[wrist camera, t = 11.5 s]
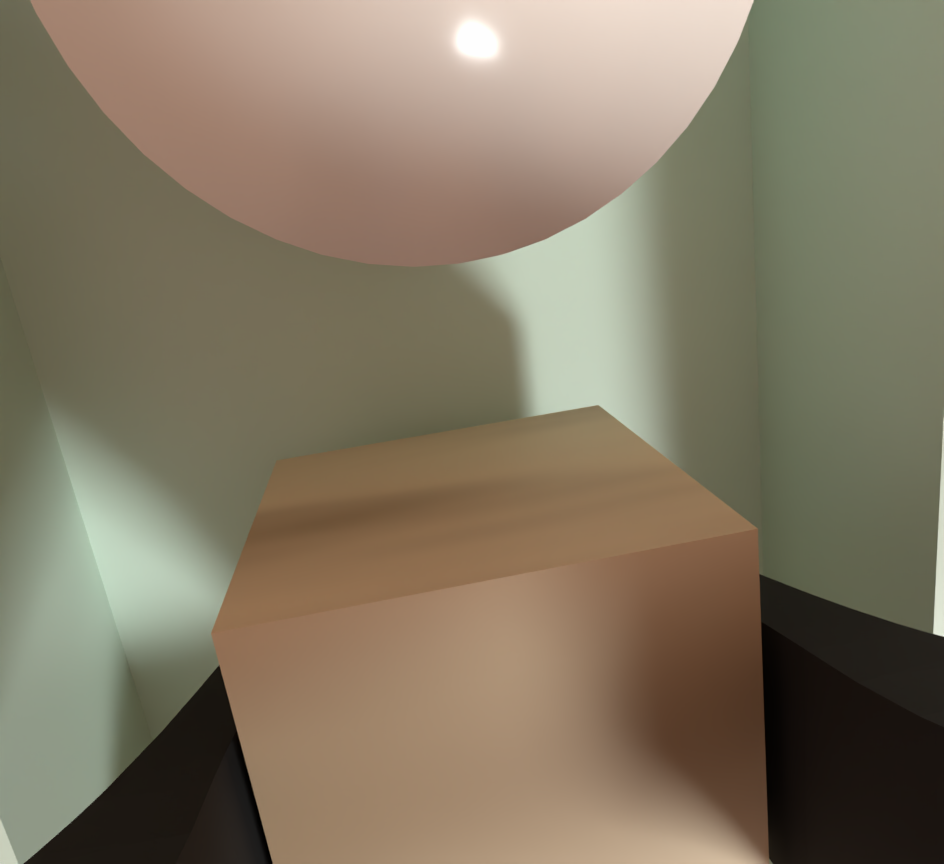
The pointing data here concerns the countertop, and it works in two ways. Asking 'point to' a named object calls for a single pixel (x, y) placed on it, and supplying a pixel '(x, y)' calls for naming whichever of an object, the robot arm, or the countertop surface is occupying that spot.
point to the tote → (455, 364)
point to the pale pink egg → (400, 109)
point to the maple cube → (499, 654)
